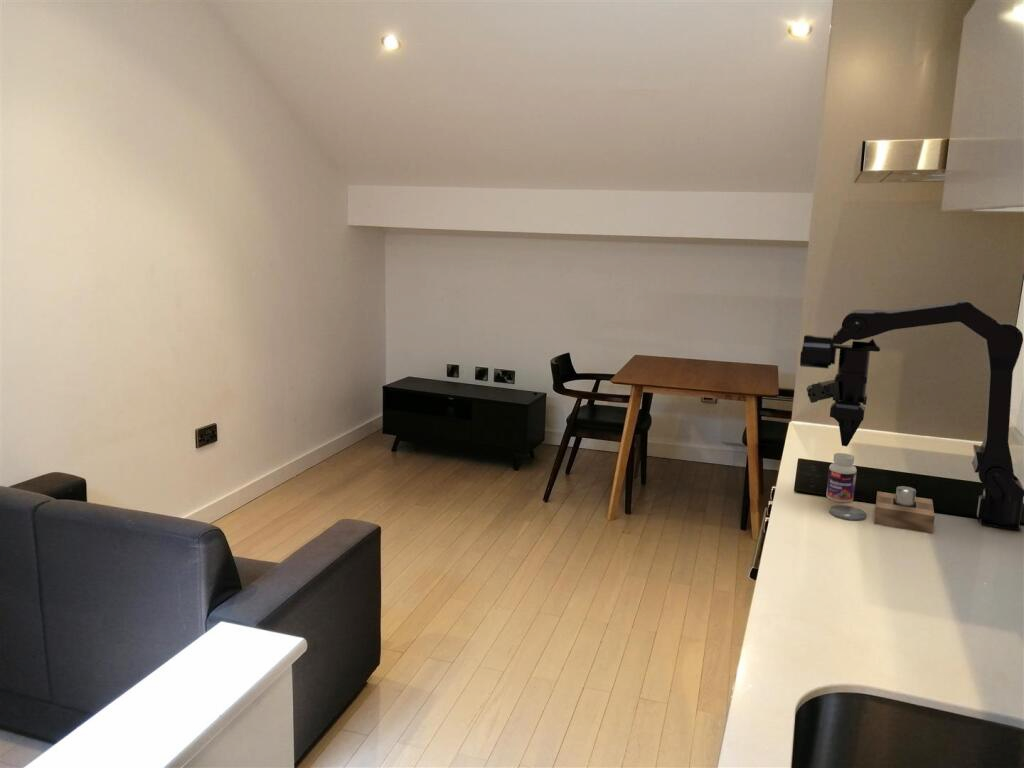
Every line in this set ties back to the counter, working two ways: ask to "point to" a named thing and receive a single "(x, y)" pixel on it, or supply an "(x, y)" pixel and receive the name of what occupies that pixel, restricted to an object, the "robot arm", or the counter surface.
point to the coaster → (847, 512)
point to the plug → (905, 496)
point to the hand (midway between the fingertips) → (845, 442)
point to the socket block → (904, 513)
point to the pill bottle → (841, 478)
